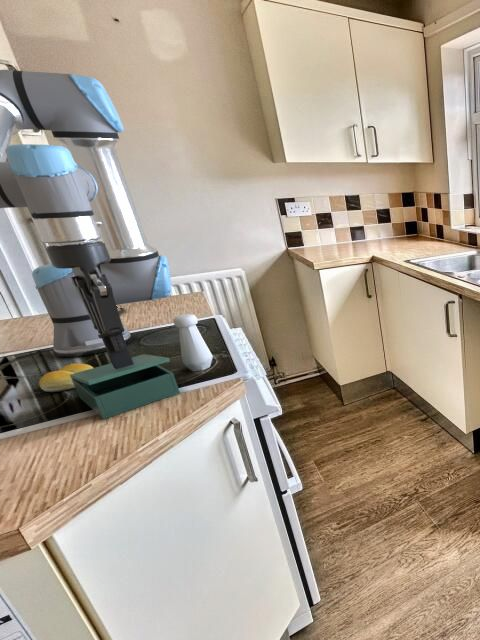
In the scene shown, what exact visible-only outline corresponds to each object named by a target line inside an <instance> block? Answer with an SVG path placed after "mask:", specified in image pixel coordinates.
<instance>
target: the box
mask: <svg viewBox="0 0 480 640" xmlns="http://www.w3.org/2000/svg"><path fill="white" fill-rule="evenodd" d="M72 381H73V383H74V386H75V388H74V389H75V390H76V393H77V394H78V397H79V399H80V400H81V401H82V402H83V403H84V404H86V405H87V406H88V407H89V408H91V410H93V412H95V413H96V414H97V415H98V416H100V417H101V418H102V419H103V420H106V419H109V418H112V417H114V416H117V415H121V414H123V413H126V412H129V411H131V410H135V409H137V408H140V407H143V406H146V405H148V404H152V403H154V402H158V401H160V400H163V399H165V398H166V399H167V398H168V397H171V396H175V395H177V394H180V392H181V391H180V389H179V386H178V382H177V381H176V378H175V375H174V373H173V372H172V371H171V370H168V369H167V368H165V367H163V366H161V365H160V364H159V365H156V366H153V367H149V368H146V369H143V370H139V371H136V372H132V373H129V374H126V375H122V376H119V377H116V378H112V379H109V380H106V381H102V382H99V383H95V384H92V385H88V384H85V383H82V382H80V381H77V380H75V379H72Z"/></svg>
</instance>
